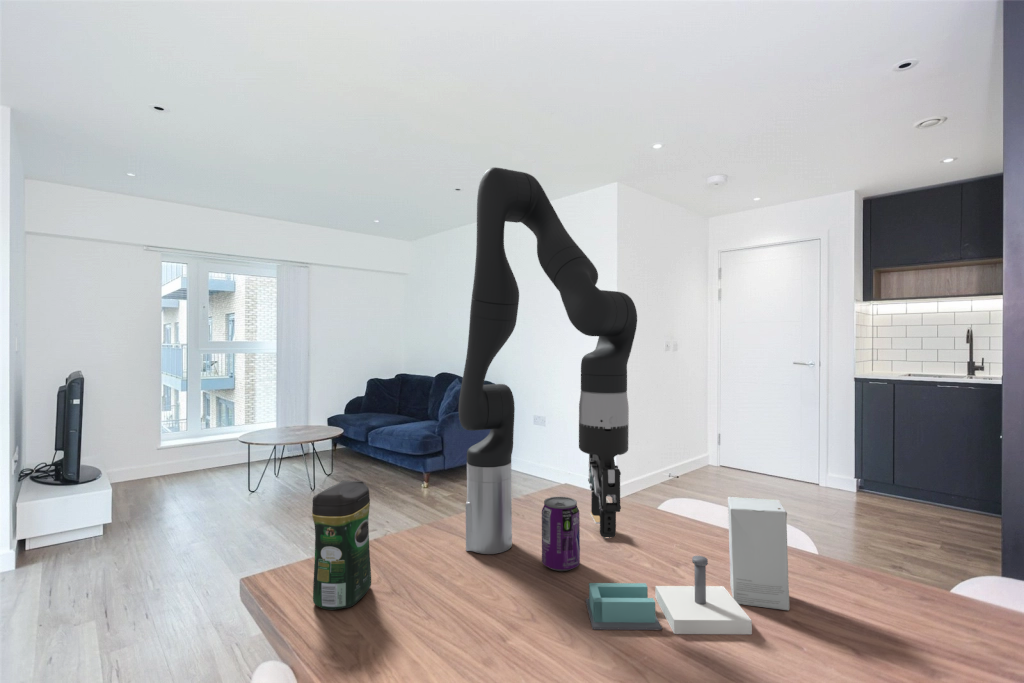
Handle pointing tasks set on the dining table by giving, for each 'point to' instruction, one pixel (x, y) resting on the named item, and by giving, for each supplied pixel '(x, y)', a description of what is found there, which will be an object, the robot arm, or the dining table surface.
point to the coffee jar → (341, 545)
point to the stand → (702, 607)
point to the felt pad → (622, 623)
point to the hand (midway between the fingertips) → (602, 525)
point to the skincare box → (758, 552)
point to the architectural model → (597, 518)
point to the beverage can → (560, 533)
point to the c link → (621, 602)
